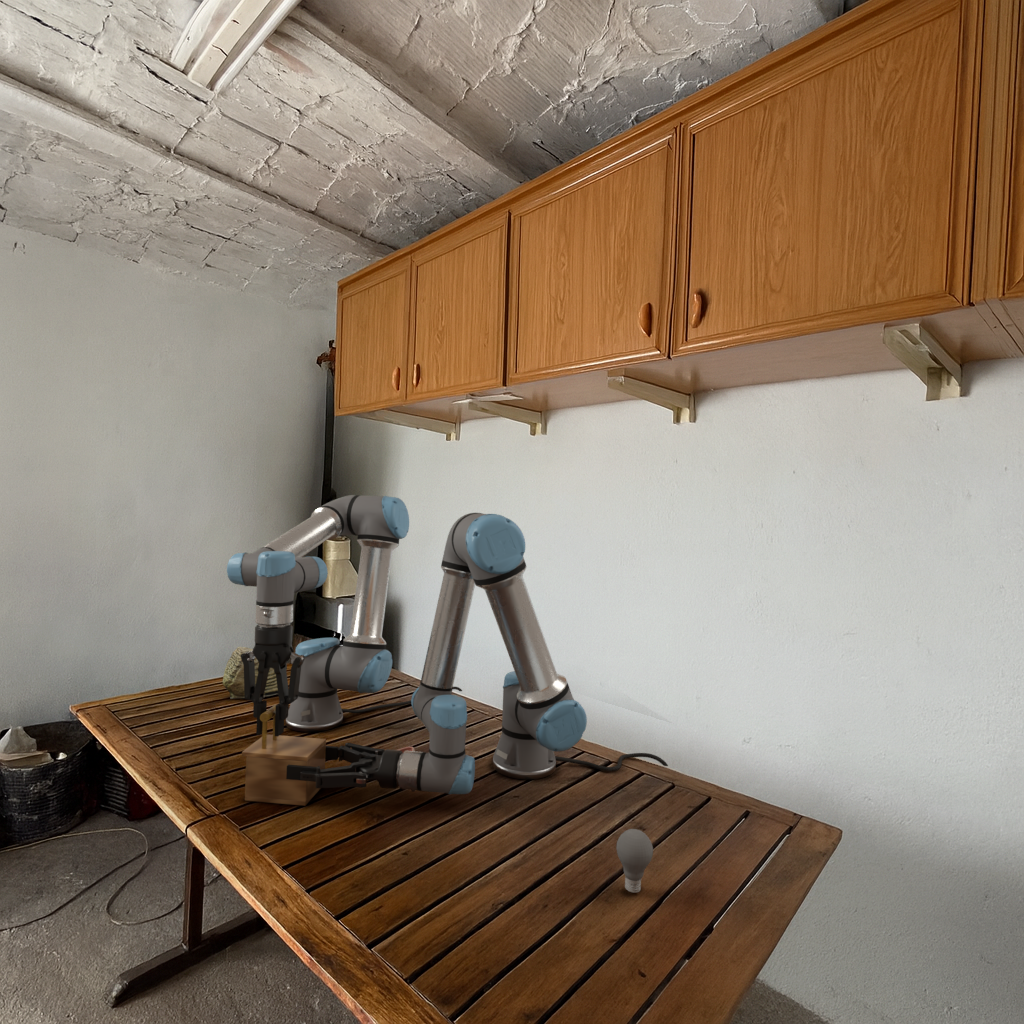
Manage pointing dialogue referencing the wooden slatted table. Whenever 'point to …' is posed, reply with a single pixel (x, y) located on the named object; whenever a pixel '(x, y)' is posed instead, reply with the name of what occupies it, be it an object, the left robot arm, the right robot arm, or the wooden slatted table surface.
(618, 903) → the wooden slatted table surface
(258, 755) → the lid
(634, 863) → the light bulb
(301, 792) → the chest
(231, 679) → the fossil
